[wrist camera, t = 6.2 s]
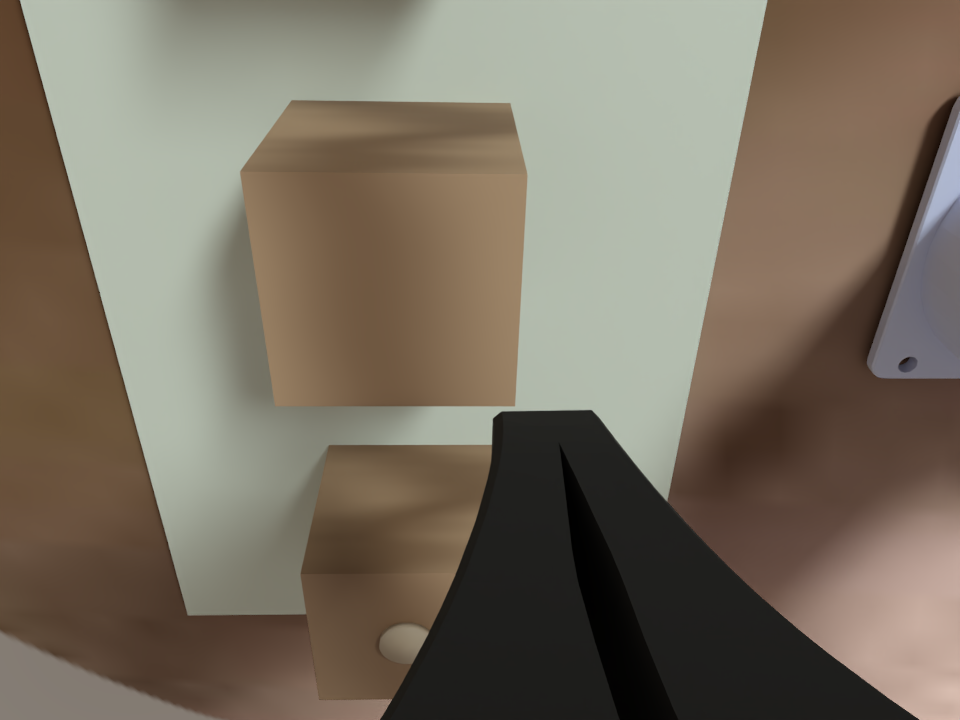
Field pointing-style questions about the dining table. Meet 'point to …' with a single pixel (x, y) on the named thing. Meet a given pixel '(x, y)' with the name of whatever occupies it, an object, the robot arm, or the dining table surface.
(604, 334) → the sage mat
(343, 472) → the one dot block
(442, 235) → the plain block
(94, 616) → the dining table surface
